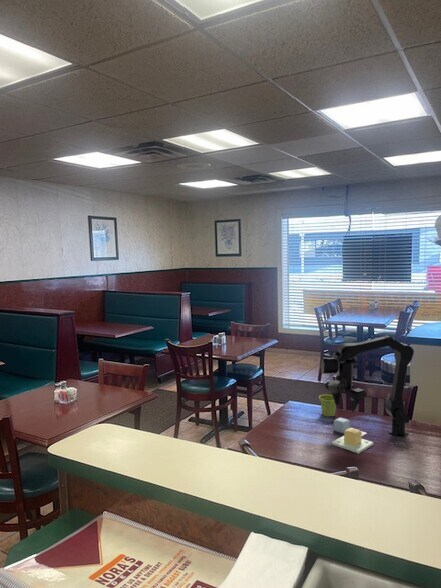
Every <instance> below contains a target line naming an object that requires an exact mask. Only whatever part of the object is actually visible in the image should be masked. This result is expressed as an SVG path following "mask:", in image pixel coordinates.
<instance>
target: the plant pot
mask: <svg viewBox="0 0 441 588" xmlns="http://www.w3.org/2000/svg"><path fill="white" fill-rule="evenodd" d="M318 398H319V402H320V408H321V415H323V416H324V417H328V418H329V417H335V415H336V409H337V406H336V404H335V401H334V398H333V395H332V394H320V395H318Z"/></svg>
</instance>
